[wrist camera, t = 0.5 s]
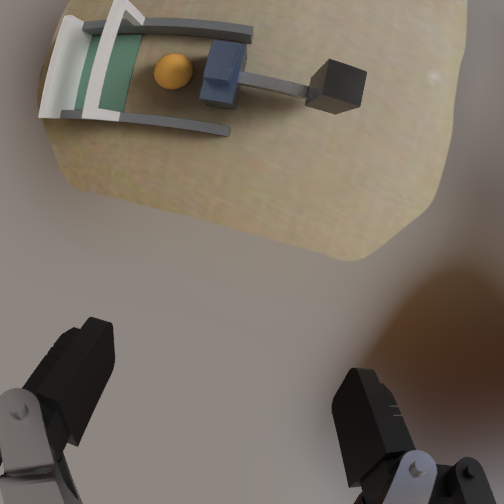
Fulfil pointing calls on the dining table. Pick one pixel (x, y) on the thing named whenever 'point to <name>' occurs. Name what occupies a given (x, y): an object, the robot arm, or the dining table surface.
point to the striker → (279, 81)
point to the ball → (173, 71)
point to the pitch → (117, 65)
